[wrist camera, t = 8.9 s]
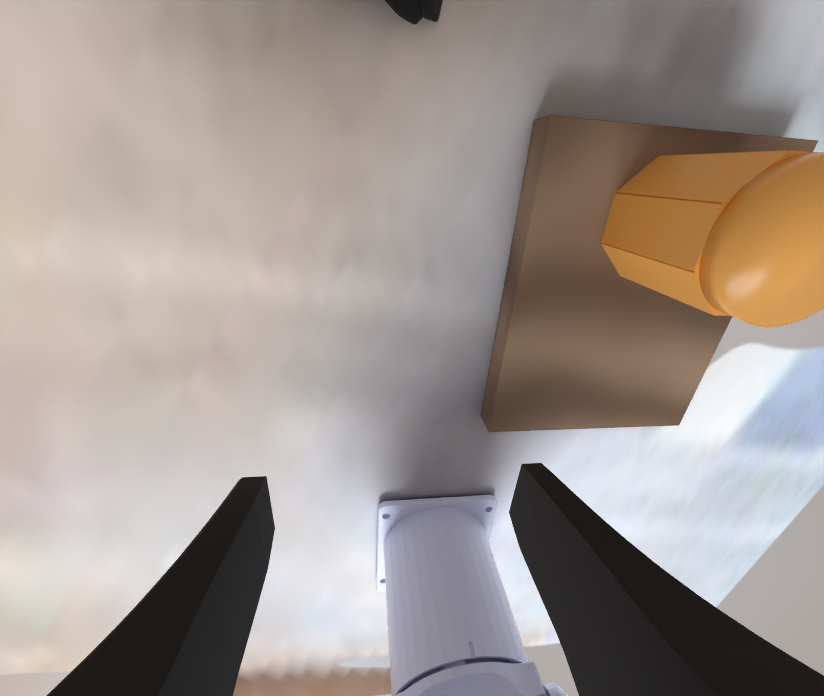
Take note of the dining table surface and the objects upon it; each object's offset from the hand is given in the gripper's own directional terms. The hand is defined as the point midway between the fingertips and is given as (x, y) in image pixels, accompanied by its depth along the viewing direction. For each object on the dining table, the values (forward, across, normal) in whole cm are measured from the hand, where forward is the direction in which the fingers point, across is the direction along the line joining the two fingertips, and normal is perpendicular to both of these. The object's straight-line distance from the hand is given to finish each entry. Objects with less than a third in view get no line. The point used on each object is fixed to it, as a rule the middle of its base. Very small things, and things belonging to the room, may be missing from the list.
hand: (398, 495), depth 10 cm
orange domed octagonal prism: (+8, -12, -7) cm, 16 cm away
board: (+9, -12, -3) cm, 16 cm away
